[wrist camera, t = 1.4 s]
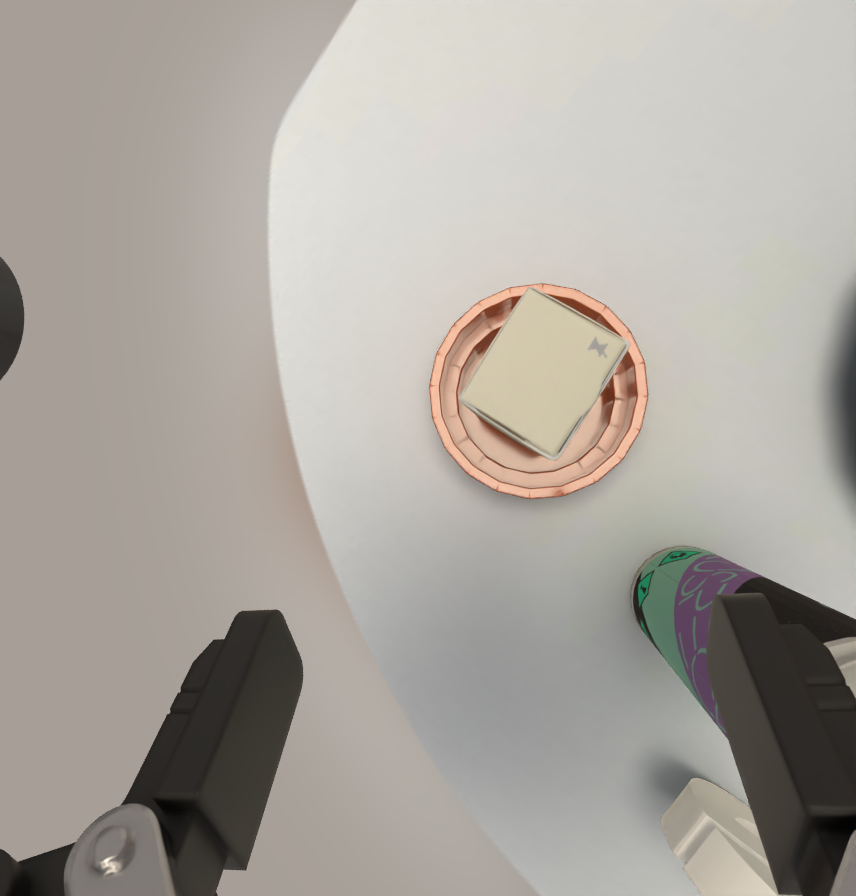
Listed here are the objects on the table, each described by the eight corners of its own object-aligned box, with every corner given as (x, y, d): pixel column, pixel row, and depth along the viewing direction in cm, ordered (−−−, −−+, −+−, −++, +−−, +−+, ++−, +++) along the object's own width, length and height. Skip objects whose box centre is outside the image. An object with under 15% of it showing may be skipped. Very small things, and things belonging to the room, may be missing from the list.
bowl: (407, 433, 34) (391, 429, 29) (499, 274, 33) (498, 246, 29) (565, 527, 33) (575, 538, 28) (664, 365, 32) (689, 350, 28)
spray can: (729, 538, 32) (1104, 673, 12) (748, 644, 31) (1162, 963, 12) (621, 553, 32) (803, 704, 12) (639, 657, 32) (853, 978, 12)
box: (525, 336, 33) (533, 274, 22) (594, 378, 32) (639, 337, 21) (472, 419, 33) (454, 400, 22) (540, 462, 32) (557, 464, 22)
